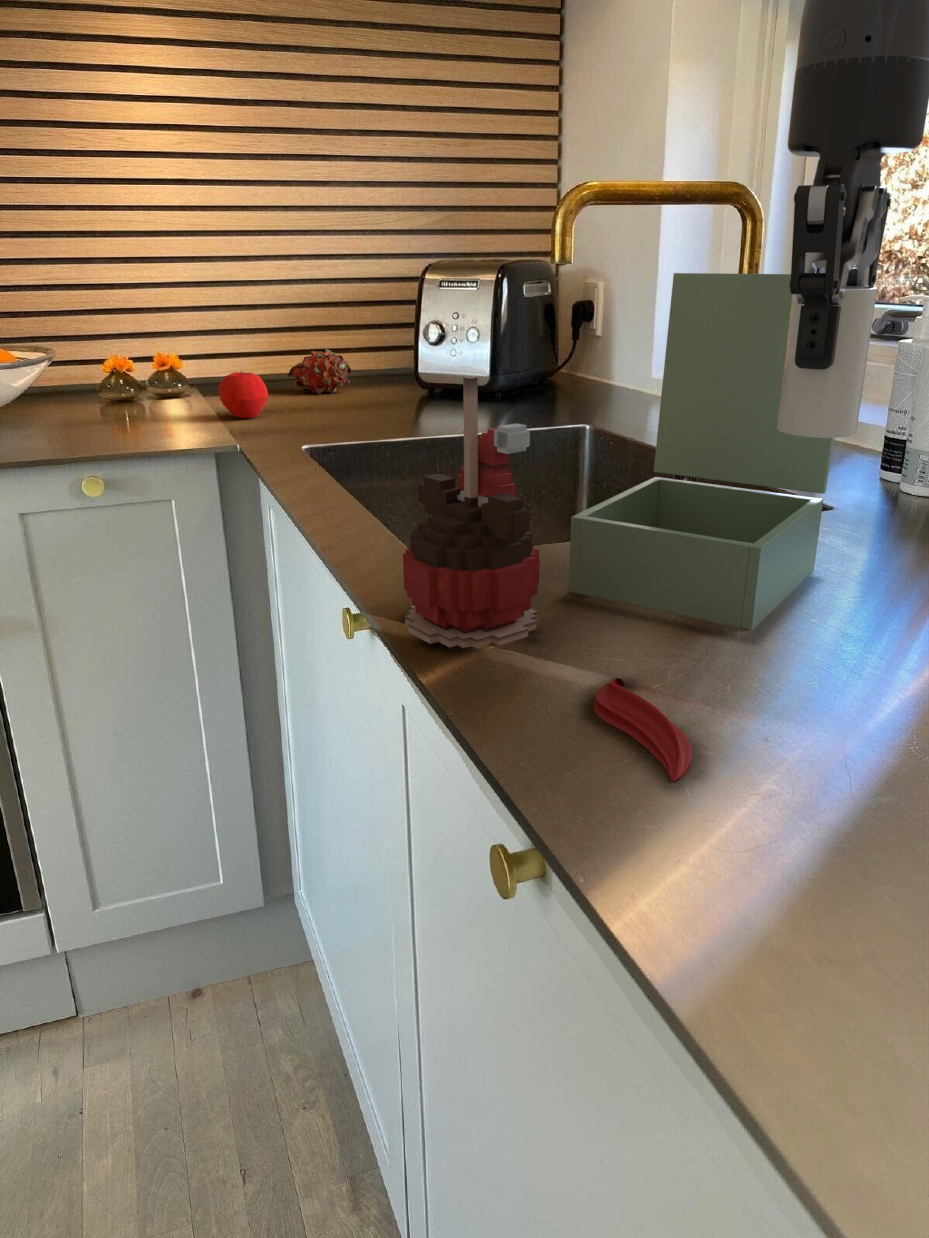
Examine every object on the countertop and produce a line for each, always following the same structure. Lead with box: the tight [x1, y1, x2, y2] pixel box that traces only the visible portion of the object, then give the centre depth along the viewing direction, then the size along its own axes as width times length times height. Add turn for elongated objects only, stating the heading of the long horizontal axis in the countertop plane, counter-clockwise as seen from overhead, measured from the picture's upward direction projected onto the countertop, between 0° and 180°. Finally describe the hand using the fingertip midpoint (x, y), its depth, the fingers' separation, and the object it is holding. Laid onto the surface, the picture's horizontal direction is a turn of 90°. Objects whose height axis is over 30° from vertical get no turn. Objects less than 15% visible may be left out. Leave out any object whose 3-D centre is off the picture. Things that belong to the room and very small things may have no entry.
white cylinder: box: [777, 286, 878, 439], centre depth 61 cm, size 5×5×9 cm
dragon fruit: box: [287, 348, 352, 395], centre depth 177 cm, size 8×8×12 cm
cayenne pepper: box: [593, 677, 693, 783], centre depth 54 cm, size 12×5×2 cm, turn 179°
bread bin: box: [568, 476, 824, 631], centre depth 75 cm, size 16×15×7 cm
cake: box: [402, 375, 540, 650], centre depth 65 cm, size 11×9×18 cm
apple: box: [218, 370, 269, 419], centre depth 152 cm, size 8×8×7 cm
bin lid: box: [653, 272, 835, 495], centre depth 78 cm, size 16×15×5 cm
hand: (825, 362), depth 61 cm, fingers closed on white cylinder, 5 cm apart
